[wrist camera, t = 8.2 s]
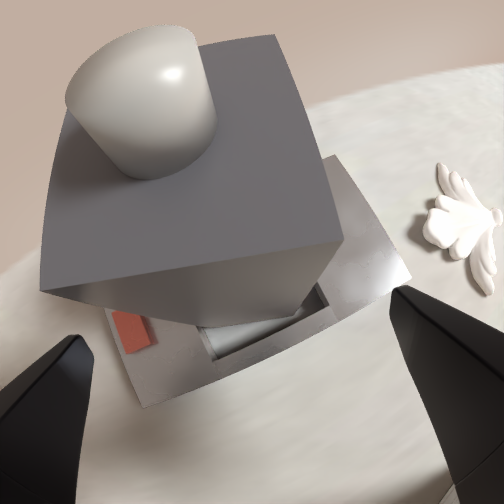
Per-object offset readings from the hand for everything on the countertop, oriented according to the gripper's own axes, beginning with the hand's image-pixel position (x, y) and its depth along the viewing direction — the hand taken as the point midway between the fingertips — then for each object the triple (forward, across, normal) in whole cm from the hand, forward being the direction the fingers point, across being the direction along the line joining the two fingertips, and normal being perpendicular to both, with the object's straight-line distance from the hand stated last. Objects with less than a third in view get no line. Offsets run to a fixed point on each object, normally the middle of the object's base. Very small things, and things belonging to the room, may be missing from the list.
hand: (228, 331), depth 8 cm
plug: (+8, 0, +4) cm, 9 cm away
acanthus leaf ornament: (+10, -15, +4) cm, 18 cm away
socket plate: (+8, 0, +4) cm, 9 cm away
